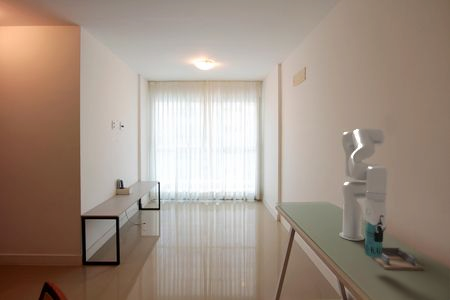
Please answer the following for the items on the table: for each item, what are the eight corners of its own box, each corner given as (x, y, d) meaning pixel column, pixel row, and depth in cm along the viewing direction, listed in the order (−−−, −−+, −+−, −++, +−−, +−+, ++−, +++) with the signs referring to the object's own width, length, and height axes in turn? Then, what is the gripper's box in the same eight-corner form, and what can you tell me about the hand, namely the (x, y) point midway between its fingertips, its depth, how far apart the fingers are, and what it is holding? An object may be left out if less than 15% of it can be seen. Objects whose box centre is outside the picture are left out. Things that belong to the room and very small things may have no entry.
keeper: (366, 253, 131) (366, 245, 131) (399, 254, 131) (400, 246, 131) (384, 269, 116) (385, 259, 115) (423, 270, 115) (423, 260, 115)
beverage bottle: (366, 253, 119) (368, 208, 118) (383, 257, 115) (385, 211, 114) (362, 258, 114) (364, 211, 113) (380, 263, 110) (382, 214, 109)
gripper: (357, 191, 122) (355, 230, 123) (377, 201, 104) (375, 246, 105) (373, 191, 121) (372, 231, 122) (397, 201, 104) (395, 247, 105)
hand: (373, 237), depth 114 cm, fingers closed on beverage bottle, 6 cm apart
